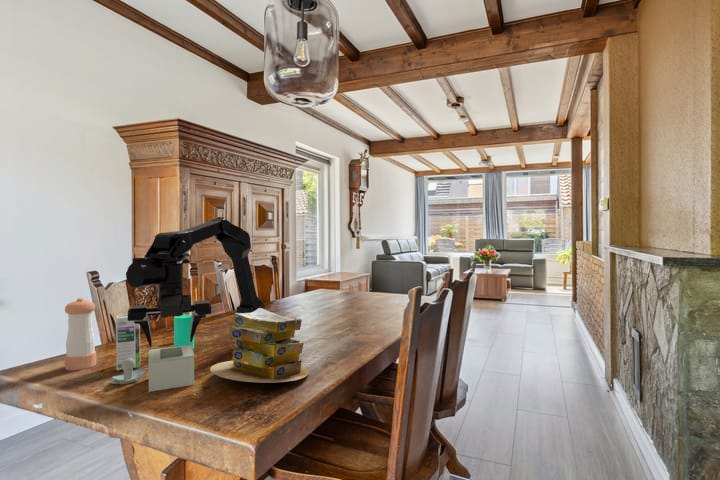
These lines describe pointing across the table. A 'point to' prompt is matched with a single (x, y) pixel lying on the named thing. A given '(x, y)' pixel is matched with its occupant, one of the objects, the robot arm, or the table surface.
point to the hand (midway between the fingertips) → (171, 344)
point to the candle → (182, 331)
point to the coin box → (171, 367)
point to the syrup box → (127, 341)
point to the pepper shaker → (80, 336)
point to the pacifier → (128, 373)
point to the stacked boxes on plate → (263, 349)
